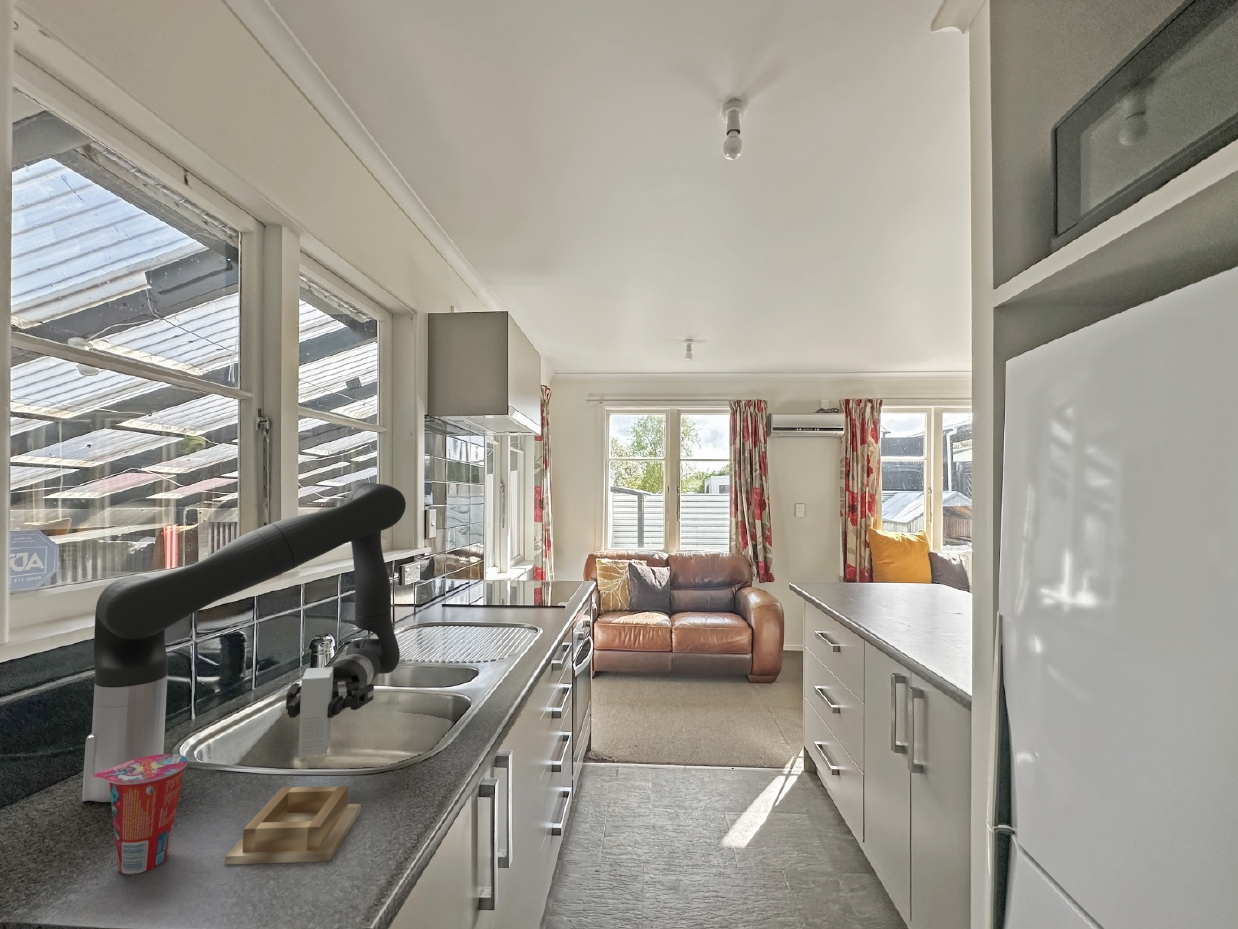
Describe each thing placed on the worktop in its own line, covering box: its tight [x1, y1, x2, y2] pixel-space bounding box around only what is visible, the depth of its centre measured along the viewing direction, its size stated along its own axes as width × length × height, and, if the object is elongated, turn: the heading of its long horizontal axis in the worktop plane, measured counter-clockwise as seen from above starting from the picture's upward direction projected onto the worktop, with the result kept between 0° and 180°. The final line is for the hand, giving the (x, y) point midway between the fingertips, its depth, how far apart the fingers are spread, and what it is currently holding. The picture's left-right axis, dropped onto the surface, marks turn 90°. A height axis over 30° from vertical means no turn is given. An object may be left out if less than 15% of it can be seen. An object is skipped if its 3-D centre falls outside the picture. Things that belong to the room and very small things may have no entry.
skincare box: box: [297, 666, 333, 758], centre depth 101 cm, size 6×4×12 cm
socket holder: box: [224, 785, 362, 865], centre depth 88 cm, size 13×13×4 cm
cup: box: [93, 753, 189, 875], centre depth 81 cm, size 9×8×12 cm
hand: (311, 711), depth 98 cm, fingers closed on skincare box, 5 cm apart
